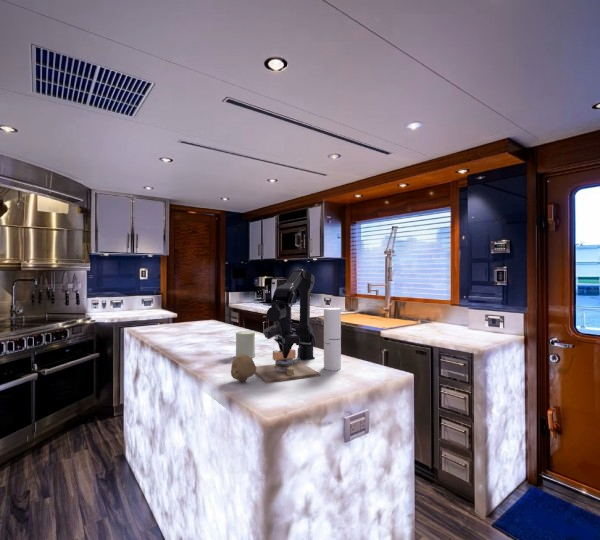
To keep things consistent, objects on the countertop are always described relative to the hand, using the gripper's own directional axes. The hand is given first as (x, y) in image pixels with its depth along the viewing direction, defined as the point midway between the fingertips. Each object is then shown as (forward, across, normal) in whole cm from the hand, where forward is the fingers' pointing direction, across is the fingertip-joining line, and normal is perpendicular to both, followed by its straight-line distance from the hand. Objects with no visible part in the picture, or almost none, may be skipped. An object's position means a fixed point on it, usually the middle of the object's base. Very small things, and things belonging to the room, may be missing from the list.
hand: (284, 357), depth 143 cm
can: (+6, -33, -7) cm, 34 cm away
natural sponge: (+6, +5, -18) cm, 20 cm away
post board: (+6, 0, 0) cm, 6 cm away
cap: (+3, 0, 0) cm, 3 cm away
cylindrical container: (+6, +2, +21) cm, 22 cm away
